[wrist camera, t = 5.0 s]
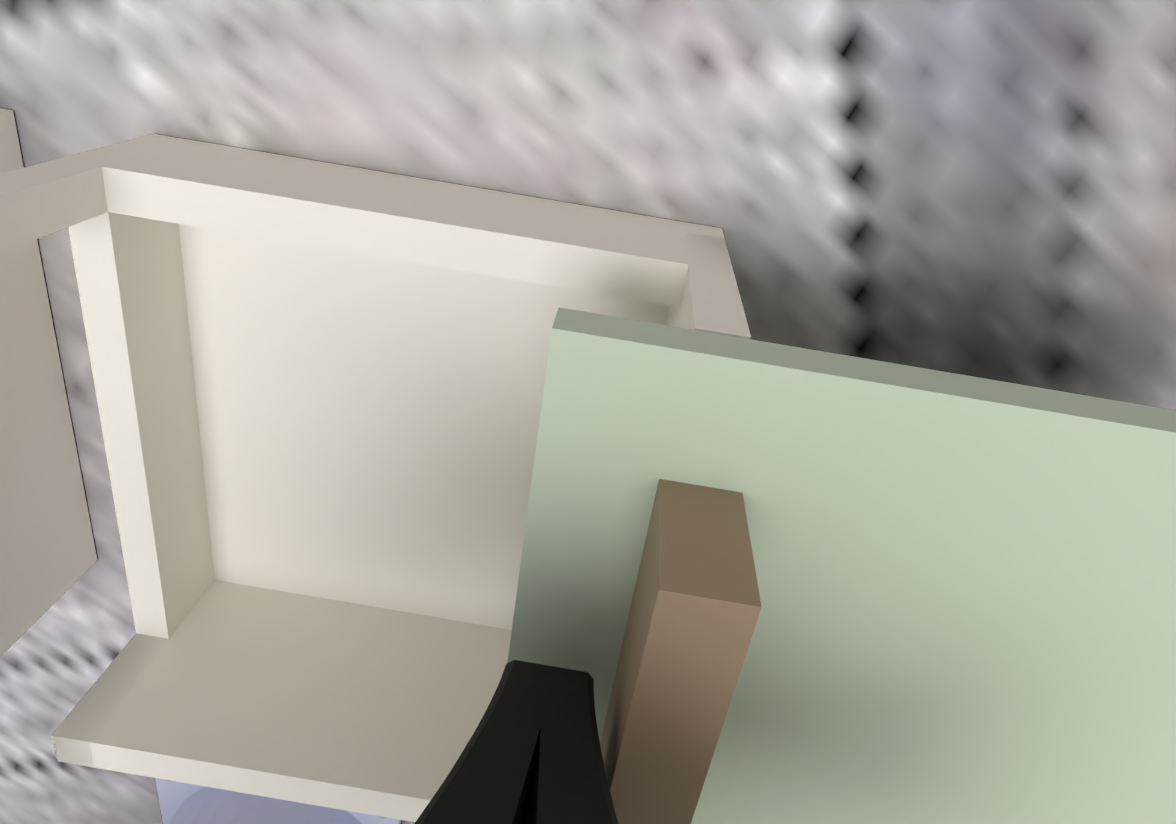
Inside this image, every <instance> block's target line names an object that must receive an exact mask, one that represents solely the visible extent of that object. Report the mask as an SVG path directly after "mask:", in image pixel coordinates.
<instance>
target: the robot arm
mask: <svg viewBox="0 0 1176 824" xmlns="http://www.w3.org/2000/svg"><path fill="white" fill-rule="evenodd" d="M155 781H156V787H157V793H158V799H159V804H160V810H161V816H162V822H163V824H401V820H399V819H393V818H387V817H381V816H375V815H369V814H363V813H358V812H352V811H346V810H340V809H334V808H328V807H322V806H317V805H311V804H305V803H299V802H293V801H287V800H281V799H276V798H270V797H264V796H258V795H252V794H246V793H240V792H235V791H229V790H223V789H217V788H211V787H205V786H199V785H194V784H188V783H182V782H176V781H170V780H164V779H158V778H155ZM415 824H618V821H617V817H616V813H615V809H614V805H613V801H612V797H611V793H610V788H609V784H608V780H607V776H606V772H605V767H604V762H603V757H602V752H601V746H600V740H599V735H598V728H597V721H596V713H595V703H594V679H593V678H592V677H591V675H590V674H589V673H588V672H584V671H578V670H572V669H566V668H560V667H554V666H548V665H542V664H536V663H530V662H525V661H519V660H513V661H511V662H509V663H507V664H506V666H505V669H504V672H503V674H502V677H501V680H500V682H499V684H498V687H497V689H496V691H495V693H494V695H493V698H492V700H491V702H490V704H489V706H488V708H487V710H486V712H485V713H484V715H483V717H482V719H481V721H480V723H479V724H478V726H477V728H476V730H475V732H474V733H473V735H472V737H471V738H470V740H469V742H468V743H467V745H466V747H465V748H464V750H463V752H462V753H461V755H460V756H459V758H458V760H457V761H456V763H455V765H454V766H453V768H452V770H451V771H450V773H449V774H448V776H447V777H446V779H445V780H444V782H443V783H442V785H441V786H440V788H439V789H438V791H437V792H436V793H435V795H434V796H433V798H432V799H431V801H430V802H429V803H428V805H427V806H426V808H425V809H424V811H423V812H422V813H421V815H420V816H419V818H418V819H417V821H416V822H415Z"/></svg>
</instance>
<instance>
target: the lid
mask: <svg viewBox="0 0 1176 824" xmlns="http://www.w3.org/2000/svg"><path fill="white" fill-rule="evenodd" d="M513 660H519V661H525V662H530V663H536V664H542V665H548V666H554V667H560V668H566V669H572V670H578V671H584V672H588V673H589V674H590V675H591V677H592V678H593V679H594V703H595V713H596V721H597V728H598V735H599V740H600V746H601V752H602V757H603V762H604V767H605V772H606V776H607V780H608V784H609V788H610V793H611V797H612V801H613V805H614V809H615V813H616V817H617V821H618V824H1176V410H1170V409H1164V408H1158V407H1152V406H1146V405H1140V404H1134V403H1128V402H1122V401H1116V400H1110V399H1104V398H1098V397H1093V396H1087V395H1081V394H1075V393H1069V392H1063V391H1057V390H1051V389H1045V388H1039V387H1033V386H1027V385H1021V384H1015V383H1009V382H1003V381H997V380H991V379H985V378H979V377H973V376H967V375H961V374H955V373H949V372H943V371H937V370H931V369H925V368H919V367H913V366H907V365H901V364H895V363H889V362H883V361H877V360H871V359H865V358H859V357H853V356H847V355H841V354H835V353H829V352H823V351H817V350H811V349H806V348H800V347H794V346H788V345H782V344H776V343H770V342H764V341H758V340H752V339H746V338H740V337H734V336H728V335H722V334H716V333H710V332H704V331H698V330H692V329H686V328H680V327H674V326H668V325H662V324H656V323H650V322H644V321H638V320H632V319H626V318H620V317H614V316H608V315H602V314H596V313H590V312H584V311H578V310H572V309H566V308H560V307H559V308H558V311H557V314H556V317H555V320H554V323H553V326H552V330H551V338H550V346H549V353H548V361H547V368H546V376H545V383H544V391H543V398H542V406H541V413H540V421H539V428H538V436H537V443H536V451H535V458H534V466H533V473H532V481H531V488H530V496H529V503H528V511H527V519H526V526H525V534H524V541H523V549H522V556H521V564H520V571H519V579H518V586H517V594H516V601H515V609H514V616H513V624H512V631H511V639H510V646H509V654H508V661H507V663H509V662H511V661H513Z"/></svg>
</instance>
